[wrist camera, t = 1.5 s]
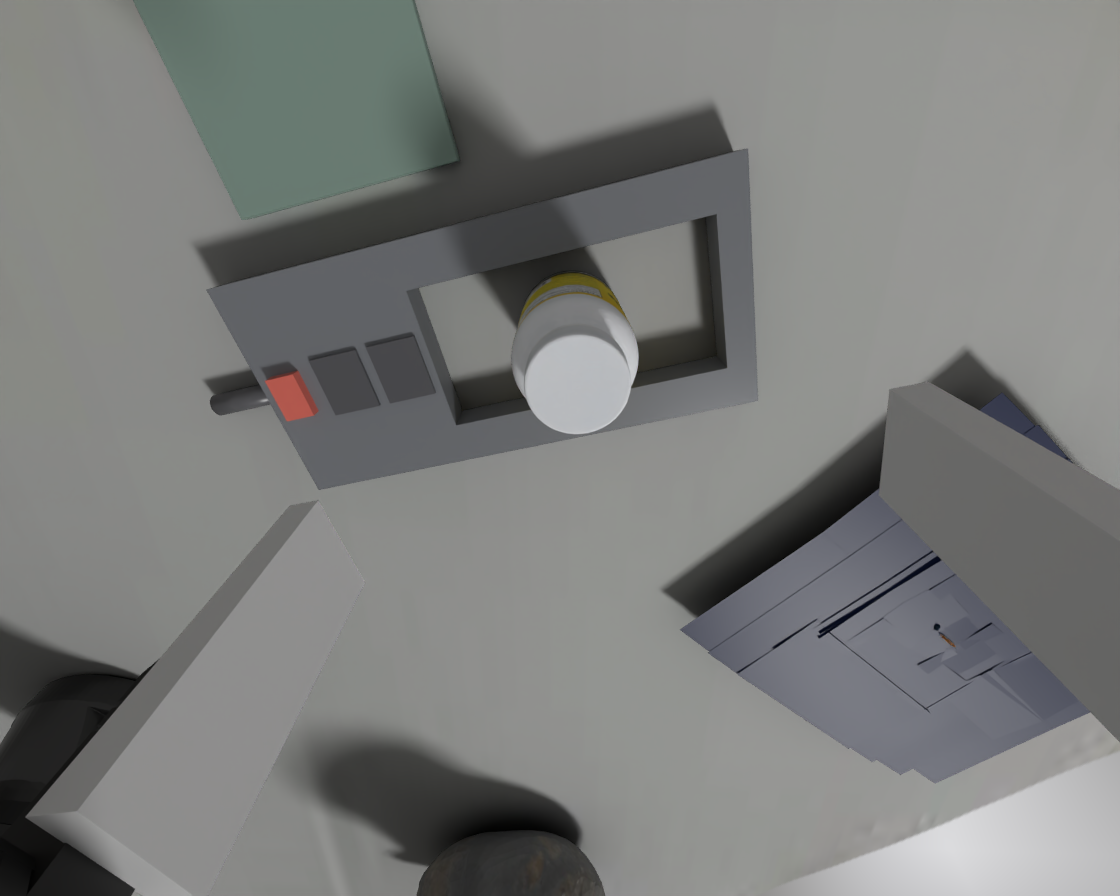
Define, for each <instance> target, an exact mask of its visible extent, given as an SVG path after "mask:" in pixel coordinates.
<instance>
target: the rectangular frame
mask: <svg viewBox="0 0 1120 896" xmlns="http://www.w3.org/2000/svg"><path fill="white" fill-rule="evenodd" d="M703 217H706V227H707V239H708V252H709V264H710V277H711V289H712V302H713V314H714V327H715V339H716V352H717V356H715V357H711V358H706V359H701V360H697V361H692V362H687V363H683V364H678V365H673V366H669V367H664V368H659V369H655V370H650V371H645V372H641V373H636V376H635V379H634V381H633V384H632V386H631V390H630V395H629V398H628V401H627V403H626V405H625V407H624V409H623V410H622V412H621V413H620V414H619V415H618V416H617V418H616V419H615V420H613V421H612V422H611V423H610V424H608V425H607V426H605V427H603V428H601V429H599V430H597V431H594V432H590V433H585V434H568V433H563V432H559V431H557V430H554V429H552V428H550V427H549V426H547V425H545V424H544V423H543V422H541V421H540V420H539V419H538V418H537V417H536V416H535V414H534V413H533V412H532V410H531V408H530V407H529V405H528V402H527V400H526V398H525V397H524V398H520V399H515V400H511V401H506V402H501V403H497V404H492V405H487V406H483V407H478V408H473V409H469V410H464V411H462V408H461V405H460V402H459V399H458V397H457V394H456V391H455V388H454V385H453V383H452V380H451V377H450V374H449V372H448V369H447V366H446V363H445V360H444V358H443V355H442V352H441V349H440V346H439V344H438V341H437V338H436V335H435V333H434V330H433V327H432V324H431V321H430V319H429V316H428V313H427V310H426V307H425V305H424V302H423V299H422V296H421V294H420V291H419V288H420V287H424V286H428V285H432V284H436V283H440V282H444V281H448V280H452V279H456V278H460V277H464V276H468V275H472V274H476V273H480V272H485V271H489V270H493V269H497V268H501V267H505V266H509V265H513V264H517V263H521V262H525V261H529V260H533V259H537V258H541V257H545V256H549V255H553V254H557V253H561V252H565V251H569V250H573V249H577V248H581V247H585V246H590V245H594V244H598V243H602V242H606V241H610V240H614V239H618V238H622V237H626V236H630V235H634V234H638V233H642V232H646V231H650V230H654V229H658V228H662V227H666V226H670V225H674V224H678V223H682V222H686V221H690V220H695V219H699V218H703ZM207 292H208V294H209V295H210V297H211V299H212V301H213V302H214V304H215V306H216V308H217V310H218V311H219V313H220V315H221V317H222V319H223V320H224V322H225V324H226V326H227V327H228V329H229V331H230V333H231V335H232V336H233V338H234V340H235V342H236V343H237V345H238V347H239V349H240V351H241V352H242V354H243V356H244V358H245V359H246V361H247V363H248V365H249V367H250V368H251V370H252V372H253V374H254V375H255V377H256V379H257V381H258V383H259V384H260V385H256V386H252V387H247V388H243V389H239V390H235V391H230V392H226V393H222V394H217V395H214V396H212V397H211V399H210V405H211V408H212V410H213V411H214V412H215V413H216V414H218V415H225V414H230V413H234V412H239V411H243V410H247V409H252V408H256V407H261V406H265V405H269V404H271V406H272V408H273V409H274V411H275V413H276V415H277V416H278V418H279V420H280V422H281V424H282V425H283V427H284V429H285V431H286V432H287V434H288V436H289V438H290V440H291V441H292V443H293V445H294V447H295V448H296V450H297V452H298V454H299V456H300V457H301V459H302V461H303V463H304V464H305V466H306V468H307V470H308V472H309V473H310V475H311V477H312V479H313V480H314V482H315V484H316V486H317V488H318V489H319V490H321V489H326V488H331V487H335V486H340V485H345V484H350V483H355V482H360V481H365V480H370V479H375V478H380V477H385V476H390V475H395V474H400V473H405V472H409V471H414V470H419V469H424V468H429V467H434V466H439V465H444V464H449V463H454V462H459V461H464V460H469V459H474V458H478V457H483V456H488V455H493V454H498V453H503V452H508V451H513V450H518V449H523V448H528V447H533V446H538V445H543V444H548V443H552V442H557V441H562V440H567V439H572V438H577V437H582V436H587V435H592V434H597V433H602V432H607V431H612V430H617V429H621V428H626V427H631V426H636V425H641V424H646V423H651V422H656V421H661V420H666V419H671V418H676V417H681V416H686V415H690V414H695V413H700V412H705V411H710V410H715V409H720V408H725V407H730V406H735V405H740V404H745V403H750V402H755V401H758V386H757V360H756V335H755V310H754V285H753V260H752V235H751V210H750V185H749V159H748V149H743V150H737V151H732V152H728V153H724V154H721V155H717V156H713V157H709V158H705V159H701V160H698V161H694V162H690V163H686V164H682V165H678V166H675V167H671V168H667V169H663V170H659V171H655V172H652V173H648V174H644V175H640V176H636V177H632V178H629V179H625V180H621V181H617V182H613V183H609V184H606V185H602V186H598V187H594V188H590V189H586V190H583V191H579V192H575V193H571V194H567V195H563V196H560V197H556V198H552V199H548V200H544V201H541V202H537V203H533V204H529V205H525V206H521V207H518V208H514V209H510V210H506V211H502V212H498V213H495V214H491V215H487V216H483V217H479V218H475V219H472V220H468V221H464V222H460V223H456V224H452V225H449V226H445V227H441V228H437V229H433V230H429V231H426V232H422V233H418V234H414V235H410V236H406V237H403V238H399V239H395V240H391V241H387V242H383V243H380V244H376V245H372V246H368V247H364V248H360V249H357V250H353V251H349V252H345V253H341V254H337V255H334V256H330V257H326V258H322V259H318V260H314V261H311V262H307V263H303V264H299V265H295V266H291V267H288V268H284V269H280V270H276V271H272V272H268V273H265V274H261V275H257V276H253V277H249V278H245V279H242V280H238V281H234V282H230V283H227V284H224V285H220V286H217V287H214V288H211V289H207Z"/></svg>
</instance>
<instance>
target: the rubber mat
mask: <svg viewBox="0 0 1120 896" xmlns="http://www.w3.org/2000/svg"><path fill="white" fill-rule="evenodd" d="M133 1H134V3H135V5H136V7H137V9H138V11H139V13H140V15H141V18H142V20H143V22H144V24H145V26H146V28H147V30H148V32H149V34H150V36H151V38H152V40H153V42H154V44H155V46H156V48H157V50H158V52H159V54H160V56H161V58H162V60H163V62H164V64H165V66H166V68H167V70H168V72H169V74H170V76H171V78H172V80H173V82H174V84H175V86H176V88H177V90H178V92H179V94H180V96H181V98H182V100H183V102H184V104H185V106H186V108H187V110H188V112H189V114H190V116H191V118H192V121H193V123H194V125H195V127H196V129H197V131H198V133H199V135H200V137H201V139H202V141H203V143H204V145H205V147H206V149H207V151H208V153H209V155H210V157H211V159H212V161H213V163H214V165H215V167H216V169H217V171H218V173H219V175H220V177H221V179H222V181H223V183H224V185H225V187H226V189H227V191H228V193H229V195H230V197H231V199H232V201H233V203H234V205H235V207H236V209H237V211H238V213H239V215H240V217H241V219H242V220H247V219H252V218H255V217H259V216H262V215H266V214H270V213H273V212H277V211H281V210H284V209H288V208H291V207H295V206H299V205H302V204H306V203H310V202H313V201H317V200H320V199H324V198H328V197H331V196H335V195H338V194H342V193H346V192H349V191H353V190H357V189H360V188H364V187H367V186H371V185H375V184H378V183H382V182H386V181H389V180H393V179H396V178H400V177H404V176H407V175H411V174H415V173H418V172H422V171H425V170H429V169H433V168H436V167H440V166H444V165H447V164H451V163H454V162H458V161H460V158H459V155H458V151H457V148H456V144H455V141H454V137H453V134H452V130H451V127H450V123H449V119H448V116H447V112H446V109H445V105H444V102H443V98H442V95H441V91H440V88H439V84H438V81H437V77H436V74H435V70H434V67H433V63H432V60H431V56H430V53H429V49H428V46H427V42H426V39H425V35H424V32H423V28H422V25H421V21H420V18H419V14H418V11H417V7H416V4H415V0H133Z"/></svg>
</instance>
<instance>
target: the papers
mask: <svg viewBox="0 0 1120 896" xmlns="http://www.w3.org/2000/svg"><path fill="white" fill-rule="evenodd" d="M979 411H981V412H983V413H985V414H986V415H988V416H990V417H992V418H993V419H995V420H997V421H999V422H1000V423H1002V424H1004V425H1006V426H1008V427H1009V428H1011V429H1013V430H1015V431H1016V432H1018V433H1020V434H1022V435H1023V436H1025V437H1027V438H1029V439H1030V440H1032V441H1034V442H1036V443H1038V444H1039V445H1041V446H1043V447H1045V448H1046V449H1048V450H1050V451H1052V452H1053V453H1055V454H1057V455H1059V456H1060V457H1062V458H1064V459H1066V460H1068V461H1069V462H1071V460H1070V459H1068V457H1067V456H1066V455H1065V454H1064V453H1063V452H1062V451H1061V450H1060V449H1059V447H1058V446H1057V445H1056V444H1055V443H1054V442H1053V441H1052V440H1051V439H1050V437H1049V436H1048V435H1047V434H1046V433H1045V432H1044V431H1043V430H1042V429H1041V427H1040V426H1039V425H1037V426H1035V425H1034V424H1033V423H1032V422H1031V421H1030V420H1029V419H1028V418H1027V417H1026V416H1025V415H1024V414H1023V413H1022V412H1021V411H1020V410H1019V409H1018V408H1017V407H1016V406H1015V405H1014V404H1013V403H1012V402H1011V401H1010V400H1009V399H1008V398H1007V397H1006V396H1005V395H1004V394H1003V393H1001V394H1000V395H998V396H997V397H996V398H994V399H993V400H992V401H991V402H989V403H988V404H987V405H985V406H984V407H983V408H982V409H980V410H979ZM1071 463H1072V462H1071ZM680 630H681V631H682V632H684V633H685V634H686V635H688V636H689V637H690V638H692V639H693V640H694V641H696V642H697V643H698V644H700V645H701V646H702V647H704V648H705V649H706V650H708V651H709V652H708V653H709V654H710V655H712V656H713V657H715V658H716V659H717V660H719V661H720V662H722V663H723V664H724V665H726V666H727V667H729V668H730V669H731V670H733V671H734V672H736V673H737V675H739V676H740V677H742V678H743V679H745V680H746V681H748V682H749V683H751V684H752V685H754V686H755V687H757V688H758V689H760V690H761V691H763V692H764V693H766V694H767V695H769V696H770V697H772V698H773V699H775V700H776V701H778V702H779V703H781V704H782V705H784V706H785V707H787V708H788V709H790V710H791V711H793V712H794V713H796V714H797V715H799V716H800V717H802V718H803V719H805V720H806V721H808V722H809V723H811V724H812V725H814V726H815V727H817V728H818V729H820V730H821V731H823V732H824V733H826V734H827V735H829V736H830V737H832V738H833V739H835V740H836V741H838V742H839V743H841V744H842V745H844V746H845V747H847V748H848V749H849V748H851V749H853V750H854V751H856V752H857V753H859V754H860V755H862V756H864V757H865V758H867V759H868V760H870V761H871V762H873V761H875V760H878V761H879V762H881V763H883V764H884V765H886V766H887V767H889V768H891V769H892V770H894V771H895V772H897V773H899V774H900V775H901V774H903V773H905V772H907V771H909V770H911V769H914V770H916V771H917V772H919V773H920V774H922V775H923V776H925V777H926V778H928V779H929V780H930V781H932V782H933V783H937V782H939V781H942V780H944V779H946V778H948V777H950V776H952V775H954V774H957V773H959V772H961V771H963V770H965V769H967V768H970V767H972V766H974V765H976V764H978V763H980V762H983V761H985V760H987V759H989V758H991V757H993V756H995V755H998V754H1000V753H1002V752H1004V751H1006V750H1008V749H1011V748H1013V747H1015V746H1017V745H1019V744H1021V743H1024V742H1026V741H1028V740H1030V739H1032V738H1034V737H1036V736H1039V735H1041V734H1043V733H1045V732H1047V731H1049V730H1052V729H1054V728H1056V727H1058V726H1060V725H1063V724H1065V723H1067V722H1069V721H1072V720H1074V719H1076V718H1078V717H1081V716H1083V715H1085V714H1087V713H1090V711H1089V710H1088V709H1087V708H1086V707H1085V706H1084V705H1083V704H1082V703H1081V702H1080V701H1079V700H1078V699H1077V698H1076V697H1075V696H1074V695H1073V694H1072V693H1071V692H1070V691H1069V690H1068V689H1067V688H1066V687H1065V686H1064V685H1063V683H1062V682H1061V681H1060V680H1059V679H1058V678H1057V677H1056V676H1055V675H1054V674H1053V673H1052V672H1051V671H1050V670H1049V669H1048V668H1047V667H1046V666H1045V665H1044V664H1043V663H1042V662H1041V661H1040V660H1039V659H1038V658H1037V657H1036V656H1035V655H1034V654H1033V653H1032V652H1031V651H1030V650H1029V649H1028V648H1027V647H1026V646H1025V645H1024V644H1023V643H1022V642H1021V640H1020V639H1019V638H1018V637H1017V636H1016V635H1015V634H1014V633H1013V632H1012V631H1011V630H1010V629H1009V628H1008V627H1007V626H1006V625H1005V624H1004V623H1003V622H1002V621H1001V620H1000V619H999V618H998V617H997V616H996V615H995V614H994V613H993V612H992V611H991V610H990V609H989V608H988V607H987V606H986V605H985V604H984V603H983V602H982V601H981V600H980V599H979V597H978V596H977V595H976V594H975V593H974V592H973V591H972V590H971V589H970V588H969V587H968V586H967V585H966V584H965V583H964V582H963V581H962V580H961V579H960V578H959V577H958V576H957V575H956V574H955V573H954V572H953V571H952V570H951V569H950V568H949V567H948V566H947V565H946V564H945V563H944V562H943V561H942V560H941V559H940V558H939V557H938V556H937V554H936V553H935V552H934V551H933V550H932V549H931V548H930V547H929V546H928V545H927V544H926V543H925V542H924V541H923V540H922V539H921V538H920V537H919V536H918V535H917V534H916V533H915V532H914V531H913V530H912V529H911V528H910V527H909V526H908V525H907V524H906V523H905V522H904V521H903V520H902V519H901V518H900V517H899V516H898V515H897V514H896V513H895V511H894V510H893V509H892V508H891V507H890V506H889V505H888V504H887V503H886V502H885V501H884V500H883V499H882V498H881V497H880V496H879V489H878V490H877V491H875V492H874V493H873V494H871V495H870V496H869V497H868V498H866V499H865V500H864V501H862V502H861V503H860V504H859V505H857V506H856V507H855V508H853V509H852V510H851V511H850V512H848V513H847V514H846V515H845V516H843V517H842V518H841V519H839V520H838V521H837V522H836V523H834V524H833V525H832V526H830V527H829V528H828V529H827V530H825V531H824V532H823V533H821V534H820V535H818V536H817V537H815V538H814V539H812V540H811V541H809V542H808V543H807V544H805V545H804V546H802V547H801V548H799V549H798V550H796V551H795V552H793V553H792V554H790V555H789V556H787V557H786V558H784V559H783V560H782V561H780V562H779V563H777V564H776V565H774V566H773V567H771V568H770V569H768V570H767V571H765V572H764V573H762V574H761V575H759V576H758V577H757V578H755V579H754V580H752V581H751V582H749V583H748V584H746V585H745V586H743V587H742V588H740V589H739V590H737V591H736V592H734V593H733V594H731V595H730V596H729V597H727V598H726V599H724V600H723V601H721V602H720V603H718V604H717V605H715V606H714V607H712V608H711V609H709V610H708V611H706V612H705V613H704V614H702V615H701V616H699V617H698V618H696V619H695V620H693V621H692V622H690V623H689V624H687V625H686V626H684V627H683V628H681V629H680Z"/></svg>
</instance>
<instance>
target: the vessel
mask: <svg viewBox="0 0 1120 896" xmlns="http://www.w3.org/2000/svg"><path fill="white" fill-rule="evenodd" d="M417 896H605V893H604V889H603V886H602V882H601V880H600V878H599V876H598V874H597V872H596V870H595V868H594V867H593V865H592V864H591V862H590V861H589V859H588V858H587V857H586V855H585V854H584V853H583V852H582V851H581V850H580V849H579V848H578V847H577V846H576V845H575V844H573V843H572V842H570V841H569V840H567V839H566V838H563V837H560V836H558V835H556V834H552V833H548V832H543V831H533V830H516V831H501V832H485V833H481V834H477V835H473V836H470V837H467V838H464V839H462V840H460V841H458V842H456V843H454V844H453V845H451V846H450V847H448V848H447V849H446V850H444V851H443V852H442V853H441V854H440V855H439V856H438V857H437V858H436V859H435V860H434V861H433V863H432V864H431V865H430V866H429V867H428V868H427V870H426V871H425V872H424V874H423V876H422V878H421V880H420V882H419V888H418V892H417Z"/></svg>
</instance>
